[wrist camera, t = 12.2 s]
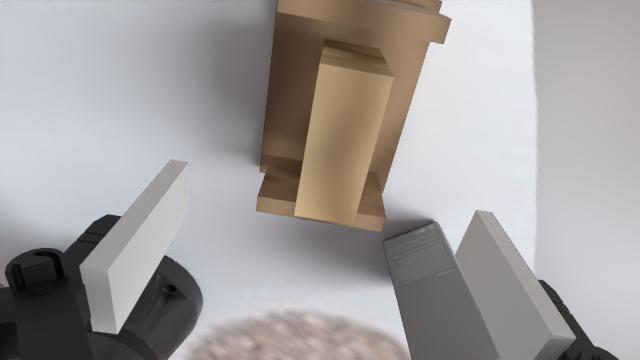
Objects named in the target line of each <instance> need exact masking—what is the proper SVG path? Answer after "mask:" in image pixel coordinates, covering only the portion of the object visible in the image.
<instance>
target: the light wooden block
mask: <svg viewBox="0 0 640 360" xmlns="http://www.w3.org/2000/svg"><path fill="white" fill-rule="evenodd" d="M393 79H394V76H393V74H392V72H391V70H390V68H389V66H388V64H387V62H386V60H385V58H384V56H383V55H382V53H381V51H380V49H379V48H374V47H368V46H363V45H358V44H353V43H348V42H342V41H337V40H332V39H327V38H325V40H324V45H323V50H322V55H321V60H320V65H319V71H318V77H317V83H316V89H315V94H314V100H313V106H312V112H311V118H310V124H309V130H308V136H307V142H306V148H305V153H304V159H303V165H302V171H301V177H300V183H299V189H298V195H297V201H296V207H295V212H294V216H300V217H306V218H311V219H317V220H323V221H329V222H335V223H341V224H347V225H353V224H354V221H355V217H356V213H357V210H358V206H359V202H360V199H361V195H362V192H363V188H364V184H365V181H366V177H367V173H368V170H369V166H370V163H371V159H372V155H373V152H374V148H375V144H376V141H377V137H378V134H379V130H380V126H381V123H382V119H383V115H384V112H385V108H386V105H387V101H388V97H389V94H390V90H391V86H392V83H393Z"/></svg>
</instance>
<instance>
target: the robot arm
mask: <svg viewBox="0 0 640 360" xmlns="http://www.w3.org/2000/svg"><path fill="white" fill-rule="evenodd" d="M188 214H189V163H188V162H182V161H176V160H170V161H169V162H168V163H167V165H166V166H165V167H164V168H163V169H162V170H161V172H160V173H159V174H158V175H157V176H156V177H155V179H154V180H153V181H152V182H151V183H150V184H149V186H148V187H147V188H146V189H145V190H144V191H143V193H142V194H141V195H140V196H139V197H138V198H137V200H136V201H135V202H134V203H133V204H132V205H131V207H130V208H129V209H128V210H127V211H126V212H125V214H124V215H123V216H115V215H109V214H107V215H105V216H104V217H102V218H100V219H98V220H96V221H94V222H93V223H92V224H91V225H90V226H89V227H88V228H87V229H86V231H85V232H84V233H83V234H82V235H81V236H80V237H79V238H78V239H77V241H75V242H74V243H73V244H72V245H71V246H70V247H69V248H68V249H67V250H66V252H65V253H64V254H63V253H62V251H59V250H57V249H53V248H40V249H34V250H31V251H28V252H25V253H22V254H20V255H19V256H17V257H15V258H14V259H12V260H11V262H10V263H9V264H8V265H7V266H6V270H5V275H6V278H7V281H8V284H9V287H5V286H4V285H2V284H1V283H0V360H168V359H169V357H170V356H171V355H172V354H173V353H174V352H175V350H176V349H177V348H178V347H179V346H180V345H181V344H182V342H183V341H184V340H185V339H186V338H187V337H188V336H189V334H190V333H191V332H192V330H193V329H194V327H195V325H196V323H197V320H198V318H199V315H200V313H201V310H202V306H203V299H202V294H201V291H200V288H199V286H198V285H197V283H196V281H195V280H194V279H193V277H192V276H191V275H190V274H189V273H188V272H187V271H186V270H185V269H184V268H183V267H181V266H180V265H179V264H177V263H176V262H175V261H173V260H171V259H169V258H168V257H166V256H164V255H165V253H166V251H167V250H168V248H169V246H170V244H171V243H172V241H173V239H174V238H175V236H176V234H177V233H178V231H179V229H180V228H181V226H182V224H183V222H184V221H185V219H186V217H187V216H188ZM455 256H456V259H457V261H458V263H459V265H460V268H461V270H462V272H463V274H464V277H465V279H466V281H467V284H468V286H469V288H470V290H471V293H472V295H473V297H474V300H475V302H476V304H477V306H478V309H479V311H480V313H481V315H482V318H483V320H484V322H485V325H486V327H487V329H488V331H489V334H490V336H491V338H492V341H493V343H494V345H495V347H496V350H497V352H498V354H499V356H500V359H501V360H618V358H616V357H615V356H613V355H612V354H611V353H609V352H608V351H606V350H604V349H602V348H599V347H595V346H594V345H593V344H592V342H591V341H590V340H589V338H588V337H587V335H586V334H585V333H584V331H583V330H582V328H581V327H580V325H579V324H578V322H577V321H576V320H575V318H574V317H573V315H572V314H570V311H569V310H568V308H567V307H566V305H564V304H563V301H562V300H561V298H560V297H559V296H558V294H557V293H556V291H555V290H554V289H552V288H551V287H550V286H549V285H548V284H547V283H546V282H545V281H543V280H537V278H536V277H535V276H534V274H533V273H532V271H531V270H530V268H529V267H528V265H527V264H526V262H525V261H524V259H523V258H522V256H521V255H520V253H519V252H518V250H517V249H516V247H515V246H514V244H513V243H512V241H511V240H510V238H509V237H508V235H507V234H506V232H505V231H504V229H503V228H502V226H501V225H500V223H499V222H498V220H497V219H496V217H495V216H494V214H493V213H492V212H486V211H480V210H476V211H475V214H474V216H473V218H472V220H471V222H470V224H469V226H468V228H467V231H466V233H465V235H464V237H463V239H462V241H461V243H460V245H459V248H458V250H457V252H456V254H455Z"/></svg>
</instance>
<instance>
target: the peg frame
mask: <svg viewBox="0 0 640 360" xmlns="http://www.w3.org/2000/svg"><path fill="white" fill-rule="evenodd" d="M441 4H442V1H439V0H277V9H276V19H275V28H274V38H273V48H272V57H271V67H270V77H269V86H268V96H267V105H266V115H265V125H264V134H263V144H262V154H261V163H260V172H262V173H266V174H265V177H264V180H263V183H262V185H261V188H260V191H259V194H258V197H257V207H256V211H259V212H265V213H271V214H276V215H282V216H288V217H294V218H300V219H306V220H312V221H318V222H324V223H330V224H336V225H342V226H348V227H353V228H359V229H365V230H371V231H377V232H382V228H383V225H384V222H385V219H386V216H385V211H384V205H383V200H382V195H381V193H383V190H384V187H385V184H386V181H387V178H388V174H389V171H390V168H391V165H392V162H393V158H394V155H395V152H396V149H397V145H398V142H399V139H400V136H401V133H402V129H403V126H404V123H405V120H406V117H407V113H408V110H409V107H410V104H411V101H412V97H413V94H414V91H415V88H416V84H417V81H418V78H419V75H420V72H421V68H422V65H423V62H424V59H425V56H426V52H427V49H428V46H429V43H430V42H435V43H440V44H444V41H445V38H446V35H447V32H448V29H449V26H450V23H451V20H452V19H451V18H448V17H446V16H444V15H442V14H439V11H440V7H441ZM325 38H327V39H332V40H337V41H342V42H348V43H353V44H358V45H363V46H368V47H374V48H379V49H380V51H381V53H382V55H383V56H384V58H385V60H386V62H387V64H388V66H389V68H390V70H391V72H392V74H393V76H394V79H393V83H392V86H391V90H390V94H389V97H388V101H387V105H386V108H385V112H384V115H383V119H382V123H381V126H380V130H379V134H378V137H377V141H376V144H375V148H374V152H373V155H372V159H371V163H370V166H369V170H368V173H367V177H366V181H365V184H364V188H363V192H362V195H361V199H360V202H359V206H358V210H357V213H356V217H355V221H354V224H353V225H347V224H341V223H335V222H329V221H323V220H317V219H311V218H306V217H300V216H294V212H295V207H296V201H297V195H298V189H299V183H300V177H301V171H302V165H303V159H304V153H305V148H306V142H307V136H308V130H309V124H310V118H311V112H312V106H313V100H314V94H315V89H316V83H317V77H318V71H319V65H320V60H321V55H322V50H323V45H324V40H325Z"/></svg>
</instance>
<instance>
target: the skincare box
mask: <svg viewBox="0 0 640 360" xmlns="http://www.w3.org/2000/svg"><path fill="white" fill-rule="evenodd" d="M383 247H384V251H385V255H386V259H387V262H388V266H389V271H390V275H391V278H392V283H393V287H394V290H395V294H396V298H397V302H398V306H399V310H400V314H401V318H402V322H403V326H404V331H405V335H406V339H407V343H408V347H409V351H410V355H411V359H412V360H501V359H500V356H499V354H498V352H497V350H496V347H495V345H494V343H493V341H492V338H491V336H490V334H489V331H488V329H487V327H486V325H485V322H484V320H483V318H482V315H481V313H480V311H479V309H478V306H477V304H476V302H475V300H474V297H473V295H472V293H471V290H470V288H469V286H468V284H467V281H466V279H465V277H464V274H463V272H462V270H461V268H460V265H459V263H458V261H457V259H456V256H455V254H454V252H453V250H452V248H451V246H450V244H449V243H448V241H447V239H446V237H445V235H444V233H443V231H442V229H441V227H440V225H439V223H438V222H434V223H431V224H429V225H426V226H423V227H421V228H419V229H416V230H414V231H411V232H409V233H406V234H403V235H400V236H398V237H395V238H392V239H389V240H386V241H384V242H383Z"/></svg>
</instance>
